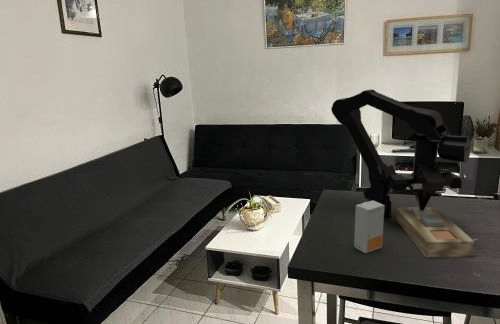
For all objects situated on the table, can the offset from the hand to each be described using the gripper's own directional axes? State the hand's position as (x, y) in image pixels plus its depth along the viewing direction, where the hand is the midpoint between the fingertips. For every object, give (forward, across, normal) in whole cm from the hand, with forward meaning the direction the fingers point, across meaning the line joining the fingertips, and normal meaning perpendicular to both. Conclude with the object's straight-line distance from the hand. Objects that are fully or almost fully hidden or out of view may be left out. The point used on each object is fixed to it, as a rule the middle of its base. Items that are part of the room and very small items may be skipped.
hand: (421, 209), depth 108 cm
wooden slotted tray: (+5, 0, -7) cm, 8 cm away
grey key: (+2, 0, -7) cm, 7 cm away
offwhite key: (+2, 0, 0) cm, 2 cm away
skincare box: (+5, -18, -12) cm, 23 cm away
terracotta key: (+3, 0, -14) cm, 14 cm away
